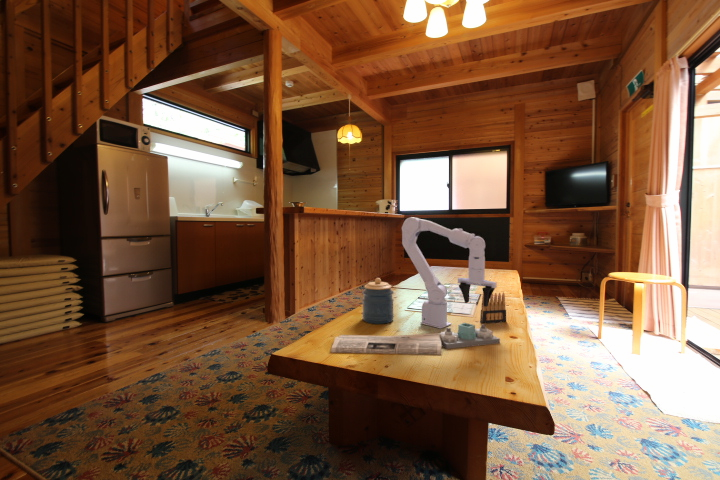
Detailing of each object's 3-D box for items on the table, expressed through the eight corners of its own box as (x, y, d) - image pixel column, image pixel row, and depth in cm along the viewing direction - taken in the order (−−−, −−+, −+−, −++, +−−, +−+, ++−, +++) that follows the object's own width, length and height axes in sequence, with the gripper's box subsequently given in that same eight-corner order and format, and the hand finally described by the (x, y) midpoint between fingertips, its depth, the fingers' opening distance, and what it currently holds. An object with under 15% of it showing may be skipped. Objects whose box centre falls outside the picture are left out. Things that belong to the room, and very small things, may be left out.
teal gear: (454, 336, 111) (454, 325, 111) (462, 332, 115) (463, 321, 115) (470, 341, 107) (470, 329, 107) (479, 336, 111) (479, 325, 111)
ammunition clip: (503, 320, 135) (504, 291, 134) (506, 321, 133) (507, 292, 132) (480, 322, 133) (480, 293, 132) (482, 323, 131) (483, 293, 130)
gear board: (446, 348, 104) (446, 333, 104) (433, 339, 113) (433, 325, 113) (499, 343, 109) (499, 328, 109) (483, 334, 118) (483, 320, 118)
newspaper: (331, 354, 102) (331, 342, 102) (336, 339, 114) (336, 329, 114) (445, 356, 100) (445, 344, 100) (438, 341, 112) (438, 331, 112)
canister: (390, 325, 128) (390, 281, 127) (358, 323, 132) (358, 279, 131) (396, 316, 141) (396, 276, 140) (367, 314, 144) (366, 274, 144)
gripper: (500, 269, 121) (499, 305, 121) (464, 265, 131) (463, 299, 132) (492, 271, 116) (491, 309, 117) (455, 267, 126) (454, 302, 127)
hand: (476, 304), depth 124 cm, fingers open, 7 cm apart
